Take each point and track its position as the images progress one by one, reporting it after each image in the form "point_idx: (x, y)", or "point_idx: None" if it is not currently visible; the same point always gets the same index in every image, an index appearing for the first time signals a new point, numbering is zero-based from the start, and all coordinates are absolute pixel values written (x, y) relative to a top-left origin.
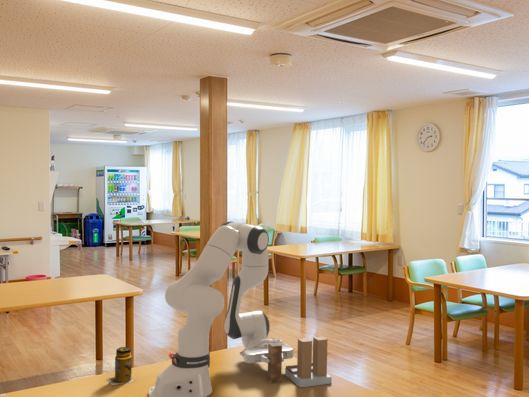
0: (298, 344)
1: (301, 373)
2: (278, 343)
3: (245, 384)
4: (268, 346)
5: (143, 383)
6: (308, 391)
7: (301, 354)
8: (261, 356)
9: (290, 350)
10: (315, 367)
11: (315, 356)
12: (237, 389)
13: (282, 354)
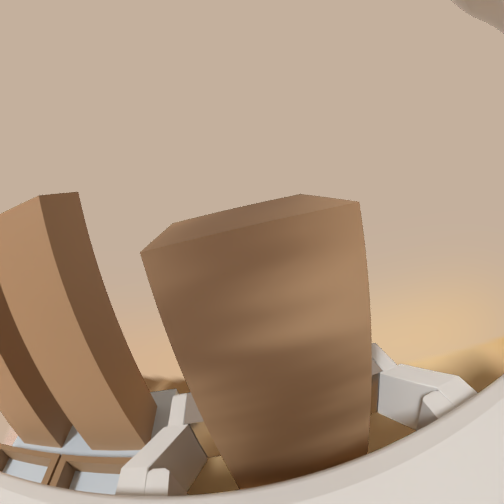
0: (57, 238)
1: (145, 385)
2: (170, 235)
3: None
4: (361, 257)
5: None
6: (176, 385)
7: (98, 283)
8: (456, 379)
9: (1, 472)
10: (50, 393)
11: (19, 339)
12: (497, 361)
13: (141, 452)
